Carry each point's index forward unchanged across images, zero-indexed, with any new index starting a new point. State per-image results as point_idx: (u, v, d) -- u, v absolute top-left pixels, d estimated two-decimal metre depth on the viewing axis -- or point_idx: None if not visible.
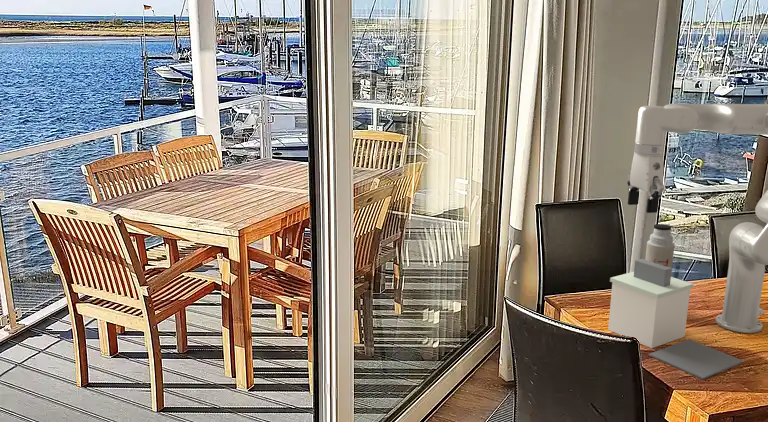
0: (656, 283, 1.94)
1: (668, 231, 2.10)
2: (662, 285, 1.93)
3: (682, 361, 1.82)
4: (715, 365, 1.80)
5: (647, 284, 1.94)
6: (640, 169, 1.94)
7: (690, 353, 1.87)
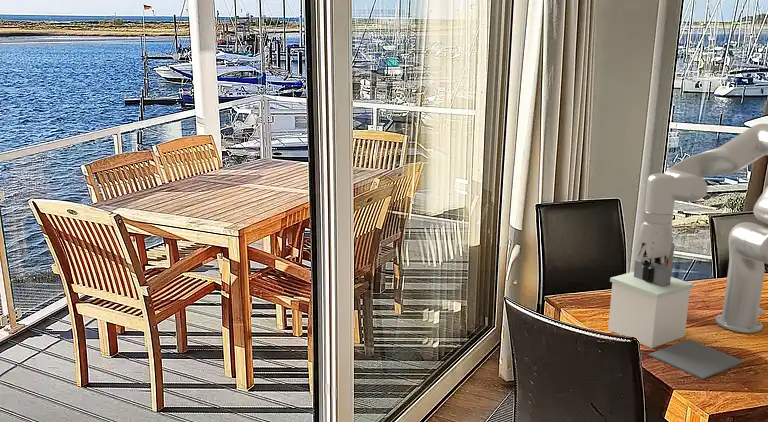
0: (656, 283, 1.94)
1: None
2: (662, 285, 1.93)
3: (682, 361, 1.82)
4: (715, 365, 1.80)
5: (647, 284, 1.94)
6: (665, 237, 1.93)
7: (690, 353, 1.87)
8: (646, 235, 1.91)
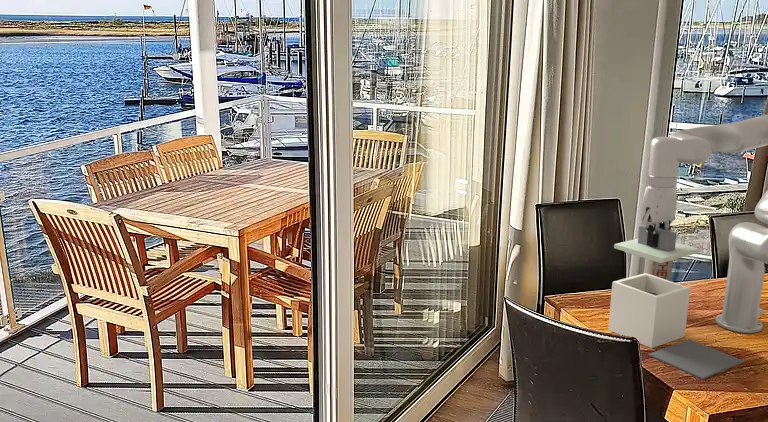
0: (661, 248, 1.92)
1: None
2: (667, 250, 1.90)
3: (682, 361, 1.82)
4: (715, 365, 1.80)
5: (651, 250, 1.92)
6: (670, 202, 1.90)
7: (690, 353, 1.87)
8: (650, 199, 1.89)
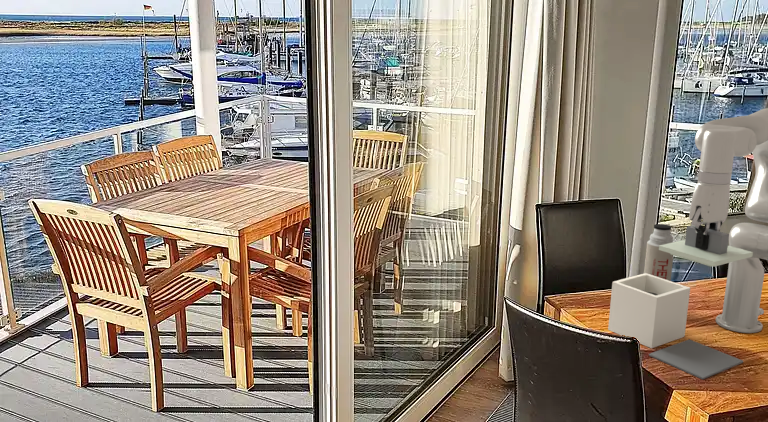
0: (711, 251, 1.75)
1: (668, 231, 2.10)
2: (718, 253, 1.74)
3: (682, 361, 1.82)
4: (715, 365, 1.80)
5: (701, 252, 1.75)
6: (723, 200, 1.74)
7: (690, 353, 1.87)
8: (701, 197, 1.72)
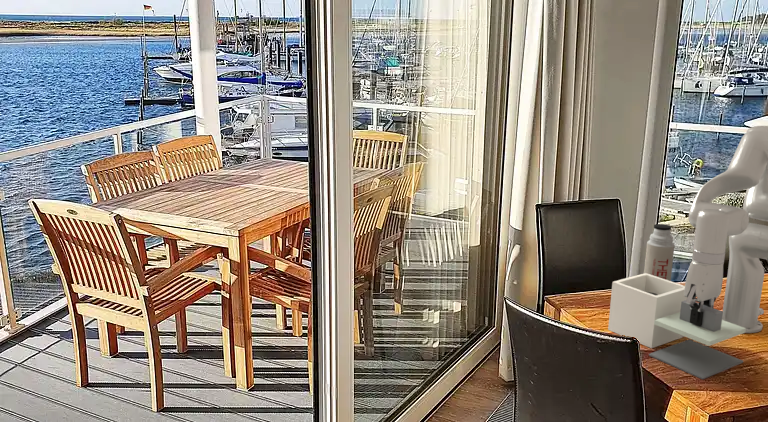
0: (705, 327, 1.79)
1: (668, 231, 2.10)
2: (712, 330, 1.78)
3: (682, 361, 1.82)
4: (715, 365, 1.80)
5: (695, 329, 1.79)
6: (716, 278, 1.78)
7: (690, 353, 1.87)
8: (696, 276, 1.76)
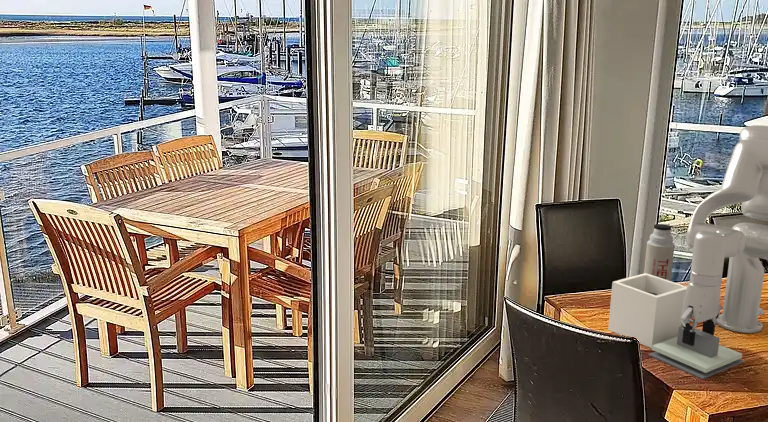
0: (702, 353, 1.81)
1: (668, 231, 2.10)
2: (709, 356, 1.80)
3: None
4: None
5: (692, 355, 1.81)
6: (714, 300, 1.79)
7: None
8: (693, 298, 1.78)
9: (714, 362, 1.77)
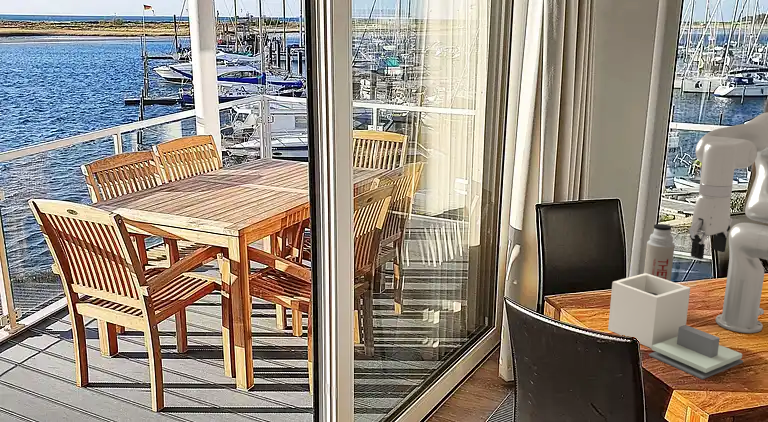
0: (702, 353, 1.81)
1: (668, 231, 2.10)
2: (709, 356, 1.80)
3: None
4: None
5: (692, 355, 1.81)
6: (724, 212, 1.75)
7: None
8: (703, 210, 1.74)
9: (714, 362, 1.77)
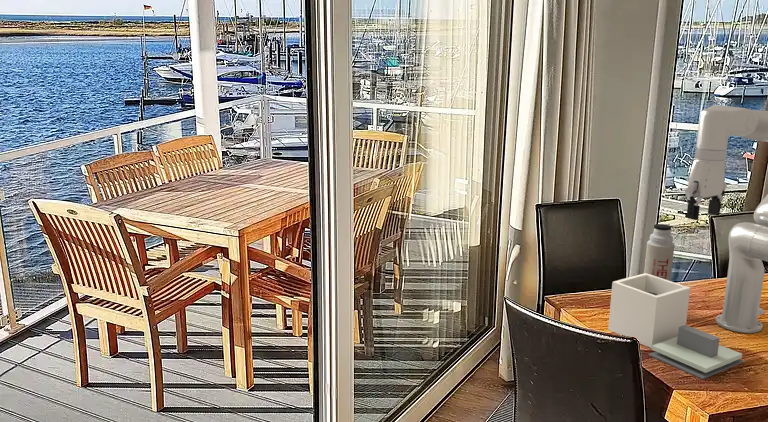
0: (702, 353, 1.81)
1: (668, 231, 2.10)
2: (709, 356, 1.80)
3: None
4: None
5: (692, 355, 1.81)
6: (718, 176, 1.84)
7: None
8: (698, 172, 1.83)
9: (714, 362, 1.77)
